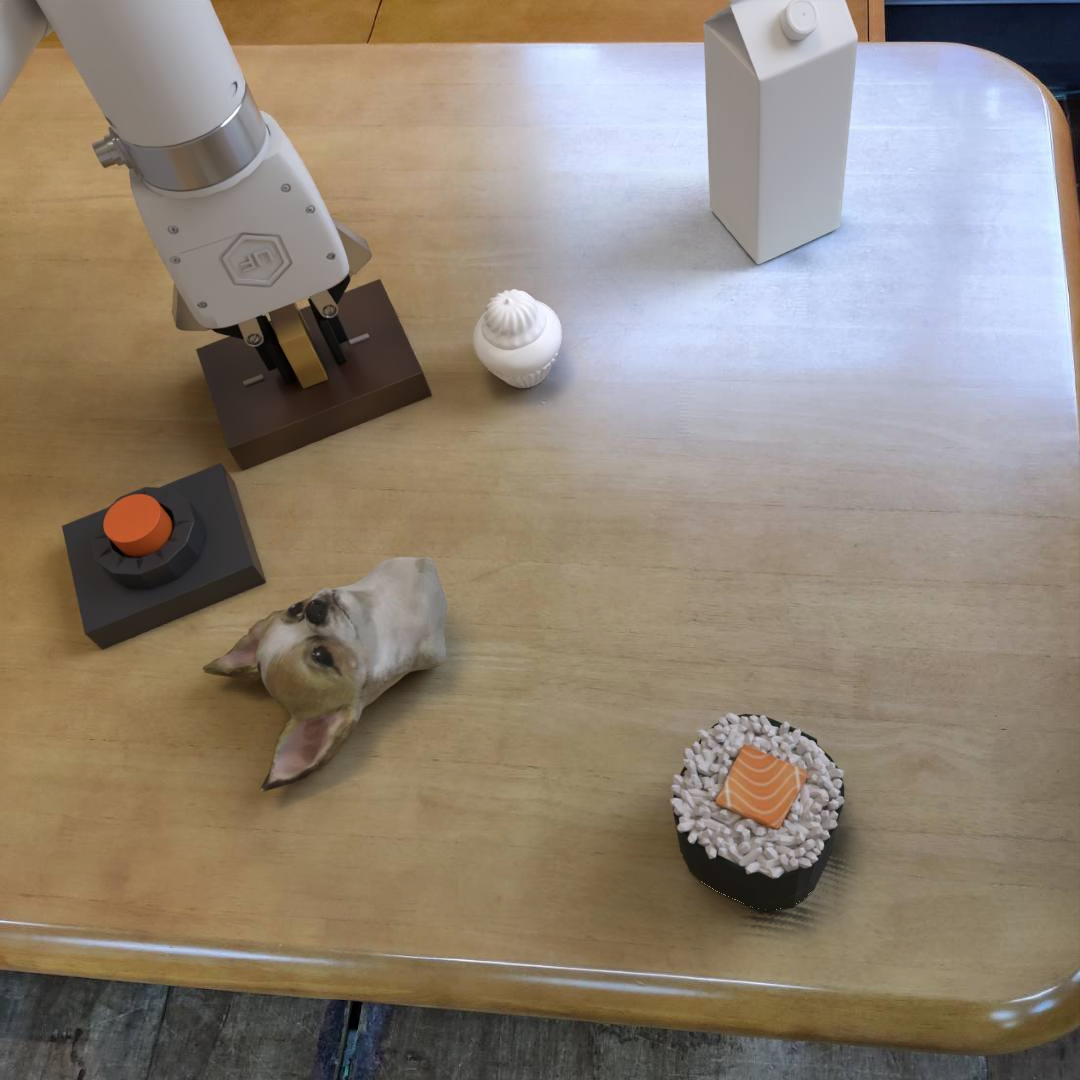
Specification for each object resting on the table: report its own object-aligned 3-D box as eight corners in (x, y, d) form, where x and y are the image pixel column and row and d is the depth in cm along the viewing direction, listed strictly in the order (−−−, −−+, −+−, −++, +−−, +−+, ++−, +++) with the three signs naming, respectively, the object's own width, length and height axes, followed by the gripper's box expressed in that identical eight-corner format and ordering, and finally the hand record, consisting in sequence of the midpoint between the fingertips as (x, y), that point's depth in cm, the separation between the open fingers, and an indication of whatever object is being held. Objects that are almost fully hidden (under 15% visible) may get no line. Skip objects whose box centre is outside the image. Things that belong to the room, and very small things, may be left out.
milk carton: (709, 210, 83) (700, -41, 67) (789, 174, 84) (801, -83, 68) (757, 267, 80) (760, 18, 64) (840, 229, 81) (865, -26, 65)
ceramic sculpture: (466, 611, 58) (216, 766, 56) (506, 677, 66) (287, 816, 64) (381, 479, 63) (148, 617, 61) (427, 555, 71) (222, 680, 69)
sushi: (718, 743, 63) (714, 683, 56) (855, 803, 61) (870, 749, 54) (654, 868, 60) (642, 821, 53) (797, 937, 57) (804, 898, 50)
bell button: (122, 566, 68) (108, 551, 67) (112, 522, 70) (98, 507, 69) (178, 543, 69) (165, 528, 67) (166, 501, 71) (153, 485, 69)
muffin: (524, 419, 76) (505, 349, 69) (465, 376, 78) (441, 304, 72) (587, 365, 77) (574, 292, 71) (527, 324, 80) (509, 250, 74)
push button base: (102, 650, 70) (68, 620, 66) (78, 543, 74) (46, 510, 71) (266, 582, 71) (242, 549, 68) (234, 481, 75) (209, 445, 72)
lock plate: (242, 471, 76) (226, 447, 73) (210, 372, 80) (194, 347, 78) (432, 396, 77) (422, 370, 75) (389, 303, 82) (379, 276, 80)
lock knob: (328, 379, 76) (304, 331, 71) (303, 389, 75) (277, 340, 71) (309, 331, 78) (285, 281, 74) (285, 340, 78) (259, 290, 74)
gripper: (59, 225, 58) (210, 441, 74) (352, 118, 60) (438, 352, 76) (39, 142, 62) (188, 366, 78) (316, 44, 63) (406, 282, 79)
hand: (310, 357), depth 76 cm, fingers open, 3 cm apart
